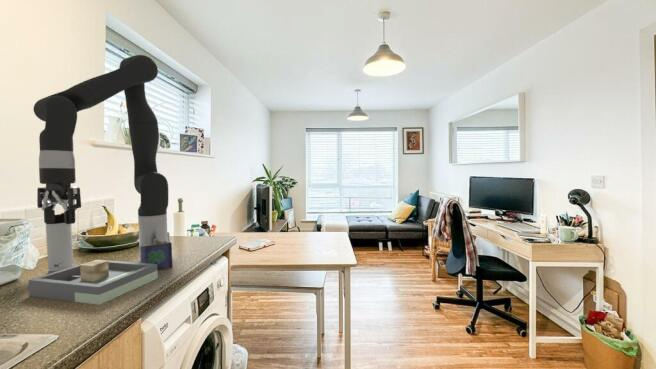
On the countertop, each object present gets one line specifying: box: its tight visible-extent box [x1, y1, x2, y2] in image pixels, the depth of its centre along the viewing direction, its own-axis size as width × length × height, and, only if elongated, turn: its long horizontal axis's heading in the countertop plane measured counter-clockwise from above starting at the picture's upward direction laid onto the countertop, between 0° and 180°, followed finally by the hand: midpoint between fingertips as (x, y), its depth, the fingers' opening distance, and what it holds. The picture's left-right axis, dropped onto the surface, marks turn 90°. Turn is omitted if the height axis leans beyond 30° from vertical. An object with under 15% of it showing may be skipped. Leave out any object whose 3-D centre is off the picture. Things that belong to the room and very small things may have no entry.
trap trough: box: [27, 259, 159, 306], centre depth 82 cm, size 18×24×4 cm
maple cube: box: [79, 259, 109, 281], centre depth 82 cm, size 4×4×4 cm
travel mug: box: [45, 212, 75, 274], centre depth 96 cm, size 6×7×20 cm
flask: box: [139, 238, 173, 271], centre depth 97 cm, size 9×3×11 cm, turn 121°
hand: (59, 223), depth 82 cm, fingers open, 8 cm apart
